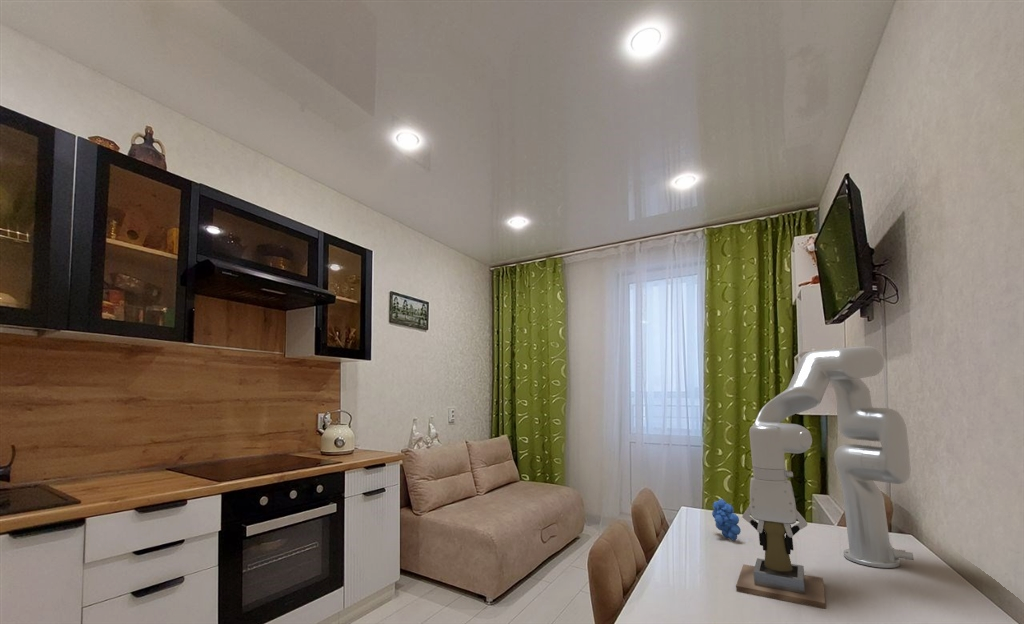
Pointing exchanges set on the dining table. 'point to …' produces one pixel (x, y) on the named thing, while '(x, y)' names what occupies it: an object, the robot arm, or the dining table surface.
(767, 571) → the collar
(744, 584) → the collar board
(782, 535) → the cork
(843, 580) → the dining table surface
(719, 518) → the grapes
